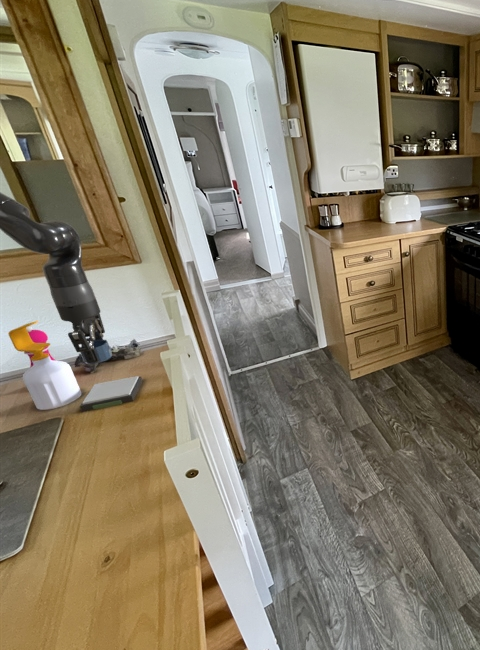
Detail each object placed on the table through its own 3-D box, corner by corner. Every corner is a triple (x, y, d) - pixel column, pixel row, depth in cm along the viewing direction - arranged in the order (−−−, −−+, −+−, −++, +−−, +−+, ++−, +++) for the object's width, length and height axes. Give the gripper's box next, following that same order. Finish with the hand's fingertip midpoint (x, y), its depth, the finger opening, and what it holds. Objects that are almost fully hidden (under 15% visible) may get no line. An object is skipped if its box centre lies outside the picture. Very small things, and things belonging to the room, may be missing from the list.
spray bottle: (62, 411, 103) (26, 331, 94) (27, 411, 102) (-14, 331, 93) (90, 391, 111) (59, 316, 102) (57, 392, 111) (23, 316, 102)
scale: (82, 414, 102) (78, 405, 101) (96, 391, 111) (93, 383, 110) (133, 403, 107) (130, 394, 106) (143, 382, 116) (140, 374, 115)
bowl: (80, 366, 100) (74, 351, 99) (88, 356, 105) (83, 341, 103) (108, 361, 103) (103, 347, 101) (115, 351, 107) (110, 338, 106)
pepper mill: (30, 389, 112) (1, 329, 104) (61, 377, 118) (36, 319, 111) (44, 395, 109) (15, 333, 102) (75, 382, 116) (50, 323, 108)
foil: (145, 353, 126) (85, 342, 116) (130, 381, 127) (69, 373, 116) (144, 338, 135) (88, 327, 124) (130, 365, 135) (73, 356, 124)
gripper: (67, 292, 102) (89, 347, 108) (42, 312, 90) (68, 372, 96) (103, 289, 105) (122, 342, 111) (84, 307, 93) (106, 365, 99)
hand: (97, 356), depth 103 cm, fingers closed on bowl, 6 cm apart
